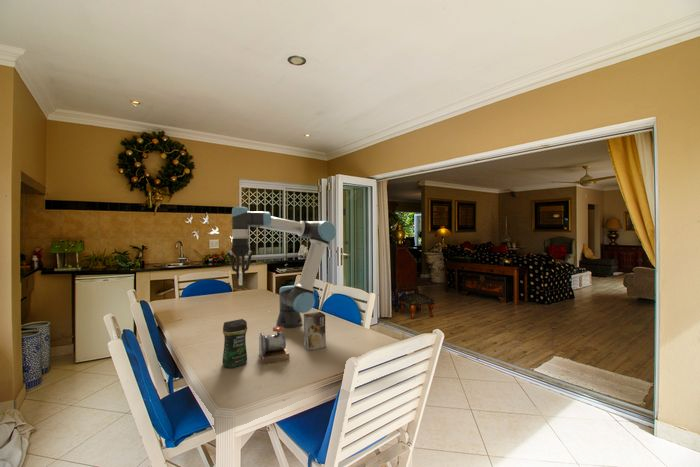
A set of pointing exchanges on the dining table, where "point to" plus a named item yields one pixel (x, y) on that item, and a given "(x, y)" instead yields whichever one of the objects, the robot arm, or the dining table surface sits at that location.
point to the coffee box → (314, 331)
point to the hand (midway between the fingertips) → (240, 284)
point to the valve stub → (273, 347)
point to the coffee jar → (234, 343)
